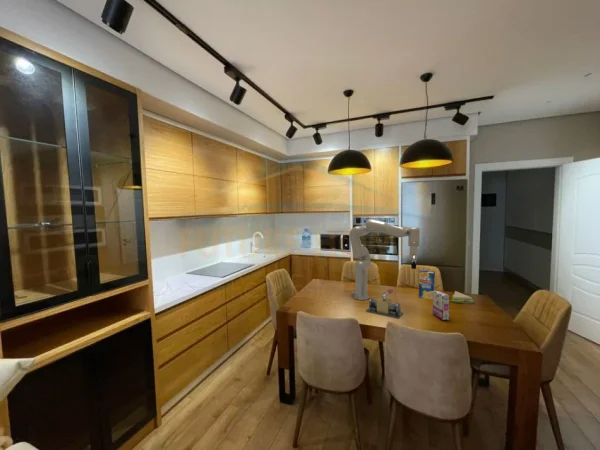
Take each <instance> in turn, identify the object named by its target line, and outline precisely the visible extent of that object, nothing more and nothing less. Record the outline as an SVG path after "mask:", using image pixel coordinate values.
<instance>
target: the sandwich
mask: <svg viewBox="0 0 600 450" xmlns="http://www.w3.org/2000/svg"><path fill="white" fill-rule="evenodd" d="M451 298H452V299H451V300H450V301H451V302H453V303H455V304H456V303H459V304H474V303H473V302H474V300H473V297H471V296H469V295H466V294H463V293H461V292H459V291H456V290H455V291H454V294H452V295H451Z"/></svg>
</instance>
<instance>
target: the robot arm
mask: <svg viewBox="0 0 600 450" xmlns="http://www.w3.org/2000/svg"><path fill="white" fill-rule="evenodd" d="M420 230H421V229H420V228H419V227H414V226H413V227H411V226H396V225H392V224H389V223H388V222H387V221H383V220H378V218H369V219H367V220H365V222H364V224H363V225H356V226H354V227H353V228H352V229H350V231H349V234H348V235H349V239H350V240H349V241H350V245H351V250H352V254H353V255H352V256H354V258H355V259H359V260H357V261H355V263H354V265H353V266H354V274H355V275H354V276H355V291H354V290H351V294H352V295H353V298H354V299H356V300H360V301H362V300H363V301H366V300H370V295H368V273H367V270H369V269H370V268H371V267H372V261H371V256H370V252H369V249H368V247H366V246H364V245H362V240H361V238H360V237H361V236H365V235H368V234H369V233H371V232H373V231H376V232H380V233H383V234H385V235H388V236H393V237H395V238H405V237H408V239H407V242H408V244H407V245H408V247H409V256H408V257H409V261H410V267H411V270H416V269H417V260H418V248H419V247H420V244H421V243H420V240H421V239H420V237H421V236H420V233H421V232H420Z"/></svg>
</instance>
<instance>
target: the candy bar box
mask: <svg viewBox="0 0 600 450" xmlns="http://www.w3.org/2000/svg"><path fill="white" fill-rule="evenodd" d="M432 315H434V316H436V317H437V318H439V319H440V320H442V321H450V295H449V294H447V293H445V292H443V291H440V290H435V291H433V300H432Z"/></svg>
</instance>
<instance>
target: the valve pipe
mask: <svg viewBox="0 0 600 450" xmlns="http://www.w3.org/2000/svg"><path fill="white" fill-rule="evenodd" d="M365 312H366V313H370V314H375V315H380V316H384V317H389V318H393V319H400V318H401V317H402V316H403V314H404V311H401V303H400V302H396V303H393V302H392V299H391V298H382V297H379V298H378V299H377V300H376V299H374V298H372V297H369V299H368V308H367V309H366V310H365Z"/></svg>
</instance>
